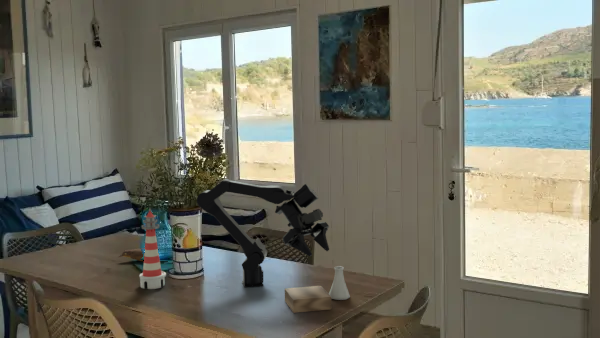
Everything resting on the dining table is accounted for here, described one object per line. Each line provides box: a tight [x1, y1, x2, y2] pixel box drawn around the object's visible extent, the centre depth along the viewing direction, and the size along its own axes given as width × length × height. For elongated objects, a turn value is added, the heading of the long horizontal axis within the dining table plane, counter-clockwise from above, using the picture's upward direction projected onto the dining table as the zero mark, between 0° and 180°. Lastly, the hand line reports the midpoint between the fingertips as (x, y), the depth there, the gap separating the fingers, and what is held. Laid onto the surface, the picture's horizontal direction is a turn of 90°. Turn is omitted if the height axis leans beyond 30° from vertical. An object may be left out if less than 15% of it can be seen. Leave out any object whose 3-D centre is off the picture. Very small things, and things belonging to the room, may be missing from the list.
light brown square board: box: [284, 285, 332, 313], centre depth 194 cm, size 12×12×4 cm
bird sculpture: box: [117, 248, 144, 262], centre depth 252 cm, size 7×25×5 cm, turn 102°
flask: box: [328, 265, 351, 301], centre depth 202 cm, size 7×7×10 cm
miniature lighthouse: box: [138, 208, 167, 290], centre depth 215 cm, size 9×9×30 cm
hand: (319, 253), depth 206 cm, fingers open, 9 cm apart
